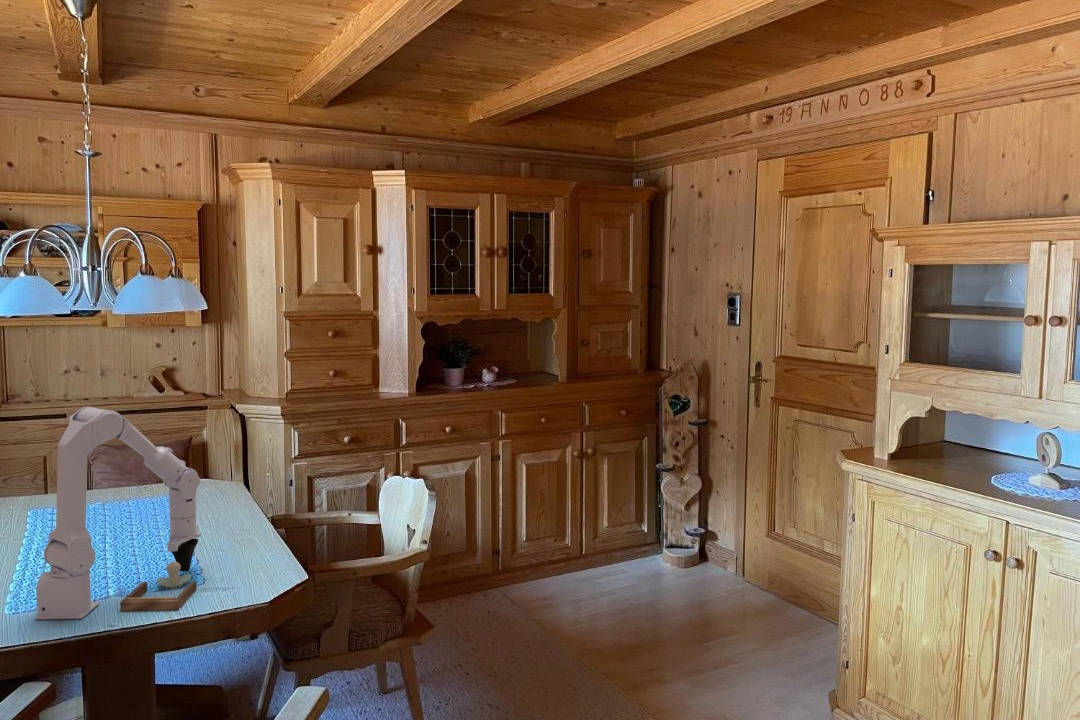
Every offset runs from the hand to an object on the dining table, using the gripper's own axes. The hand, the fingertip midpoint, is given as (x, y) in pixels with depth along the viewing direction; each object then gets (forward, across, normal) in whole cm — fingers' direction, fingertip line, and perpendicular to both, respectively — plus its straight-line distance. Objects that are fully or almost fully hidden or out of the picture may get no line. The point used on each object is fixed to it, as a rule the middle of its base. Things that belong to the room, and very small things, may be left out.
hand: (184, 570), depth 190 cm
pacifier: (+2, -6, 0) cm, 6 cm away
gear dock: (+1, -15, 0) cm, 15 cm away
